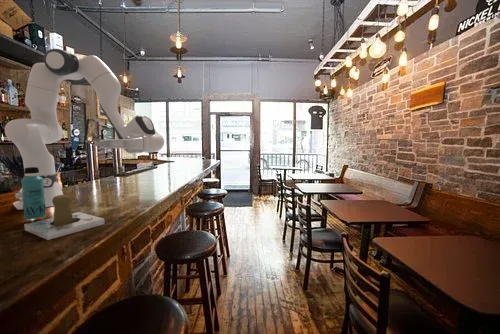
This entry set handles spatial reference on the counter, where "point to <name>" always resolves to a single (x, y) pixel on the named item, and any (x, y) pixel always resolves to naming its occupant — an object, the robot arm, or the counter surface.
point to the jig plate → (63, 226)
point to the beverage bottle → (33, 195)
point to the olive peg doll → (62, 210)
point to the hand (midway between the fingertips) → (103, 144)
